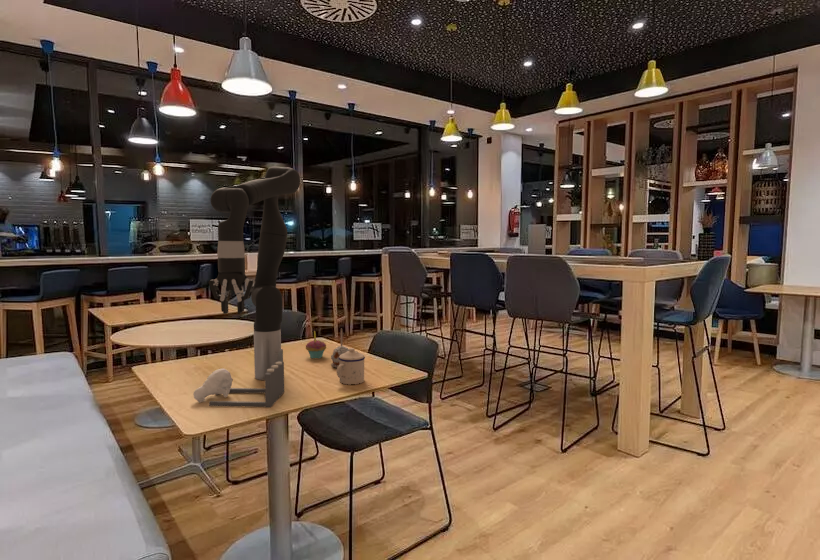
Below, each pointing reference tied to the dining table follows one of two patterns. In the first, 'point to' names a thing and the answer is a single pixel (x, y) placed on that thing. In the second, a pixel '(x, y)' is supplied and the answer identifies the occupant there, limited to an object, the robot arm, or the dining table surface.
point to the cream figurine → (214, 385)
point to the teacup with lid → (351, 367)
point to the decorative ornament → (338, 353)
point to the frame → (261, 389)
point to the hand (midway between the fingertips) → (232, 313)
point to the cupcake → (316, 348)
